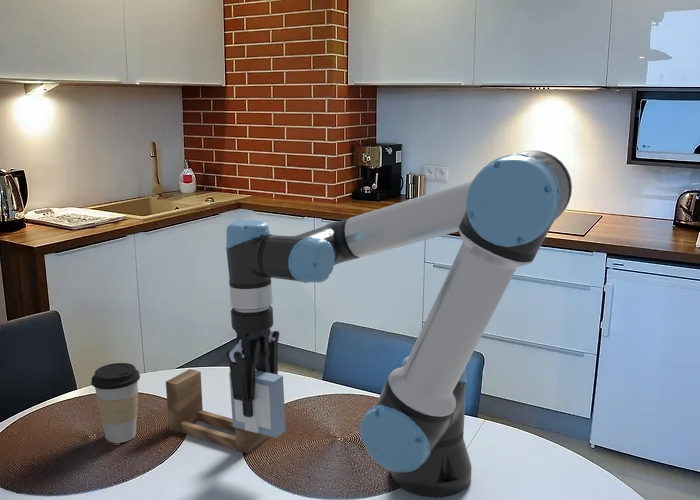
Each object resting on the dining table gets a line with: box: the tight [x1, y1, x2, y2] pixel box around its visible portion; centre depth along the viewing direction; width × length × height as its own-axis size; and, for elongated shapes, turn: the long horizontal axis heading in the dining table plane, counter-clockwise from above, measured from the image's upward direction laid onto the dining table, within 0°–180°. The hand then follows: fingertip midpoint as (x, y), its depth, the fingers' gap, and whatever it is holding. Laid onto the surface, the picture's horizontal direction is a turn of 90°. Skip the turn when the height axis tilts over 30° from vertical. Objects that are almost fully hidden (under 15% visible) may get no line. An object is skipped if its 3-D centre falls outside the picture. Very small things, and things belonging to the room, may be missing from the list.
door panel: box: [228, 370, 287, 439], centre depth 121 cm, size 10×3×11 cm, turn 62°
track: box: [165, 368, 271, 455], centre depth 136 cm, size 21×8×11 cm, turn 62°
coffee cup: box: [90, 362, 141, 443], centre depth 134 cm, size 9×9×15 cm
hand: (258, 425), depth 122 cm, fingers closed on door panel, 3 cm apart
